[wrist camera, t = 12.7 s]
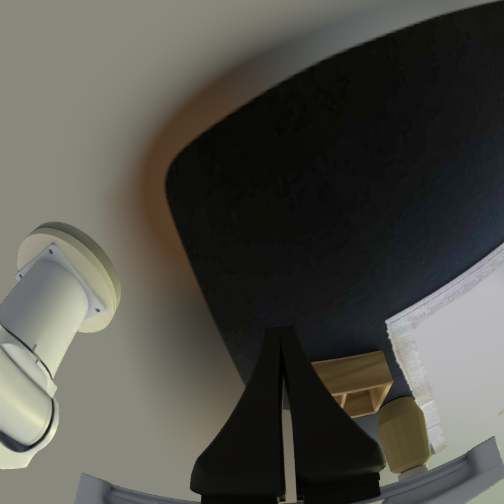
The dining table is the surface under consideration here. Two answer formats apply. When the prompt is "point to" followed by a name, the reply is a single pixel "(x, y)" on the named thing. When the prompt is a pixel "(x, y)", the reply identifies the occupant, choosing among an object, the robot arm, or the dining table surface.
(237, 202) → the dining table surface
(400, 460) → the squeeze bottle
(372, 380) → the cutlery caddy
